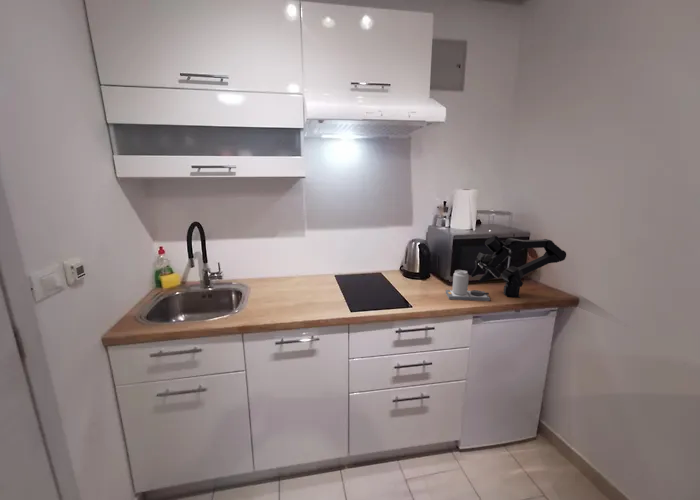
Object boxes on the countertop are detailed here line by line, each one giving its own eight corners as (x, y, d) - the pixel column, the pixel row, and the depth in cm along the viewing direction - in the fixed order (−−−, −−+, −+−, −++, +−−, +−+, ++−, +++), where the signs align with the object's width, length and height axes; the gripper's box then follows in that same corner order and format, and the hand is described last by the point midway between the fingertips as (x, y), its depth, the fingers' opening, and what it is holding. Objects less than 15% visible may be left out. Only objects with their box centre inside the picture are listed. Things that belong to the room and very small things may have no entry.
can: (453, 295, 167) (455, 273, 165) (450, 290, 175) (452, 268, 172) (468, 296, 166) (470, 273, 164) (465, 291, 174) (467, 269, 171)
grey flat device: (485, 294, 174) (485, 289, 174) (491, 301, 164) (491, 296, 164) (445, 292, 176) (445, 287, 176) (449, 299, 167) (449, 294, 166)
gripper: (479, 243, 175) (458, 264, 177) (496, 251, 157) (472, 274, 158) (492, 257, 177) (471, 277, 179) (511, 266, 159) (487, 289, 161)
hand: (475, 279), depth 169 cm, fingers open, 9 cm apart
